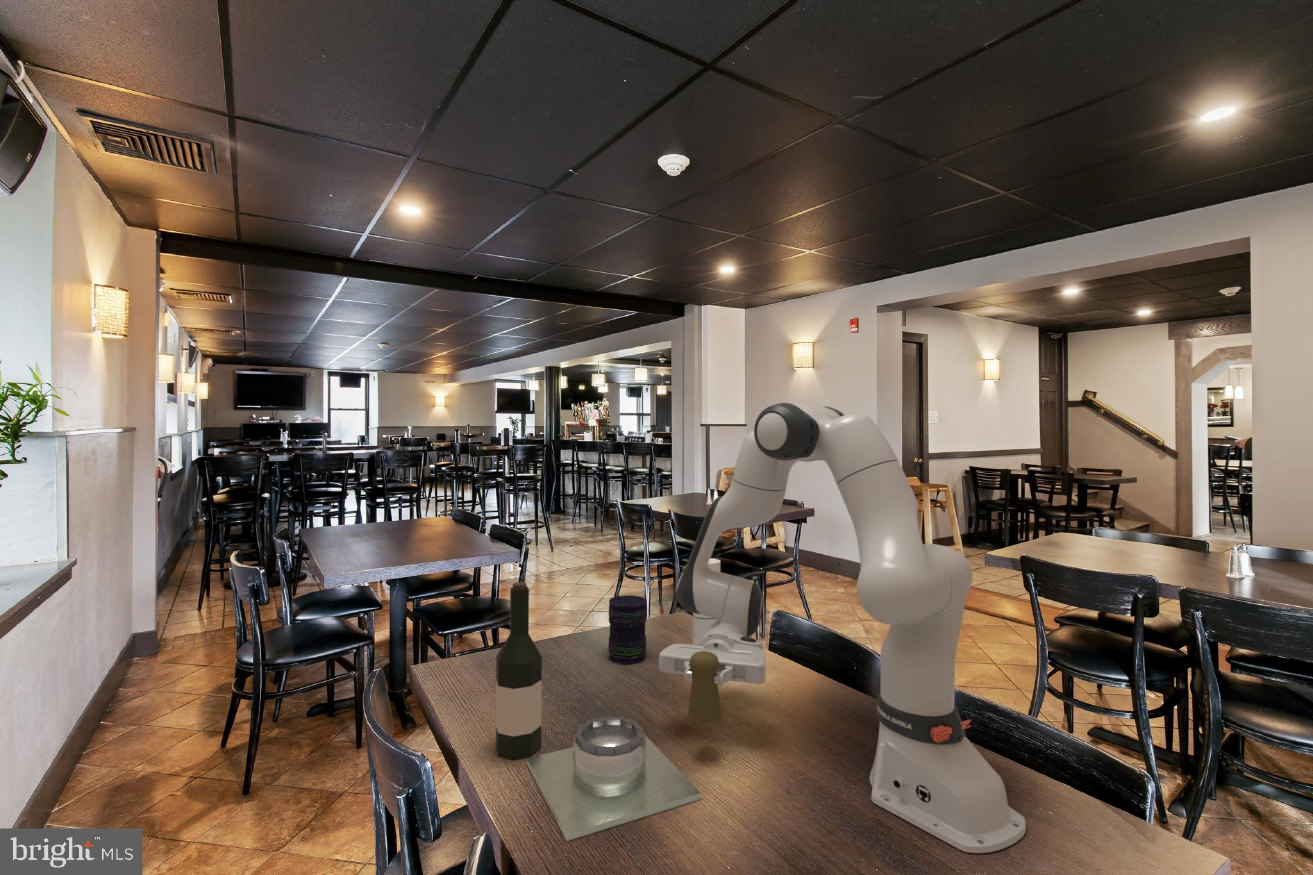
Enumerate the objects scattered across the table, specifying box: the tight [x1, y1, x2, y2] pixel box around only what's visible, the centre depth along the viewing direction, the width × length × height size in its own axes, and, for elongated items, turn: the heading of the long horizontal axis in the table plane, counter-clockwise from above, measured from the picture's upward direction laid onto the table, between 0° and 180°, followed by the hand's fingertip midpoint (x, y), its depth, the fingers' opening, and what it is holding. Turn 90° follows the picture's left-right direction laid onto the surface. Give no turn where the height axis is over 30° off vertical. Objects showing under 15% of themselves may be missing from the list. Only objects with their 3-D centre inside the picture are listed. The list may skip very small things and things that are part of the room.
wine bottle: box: [495, 581, 543, 761], centre depth 107 cm, size 8×8×30 cm
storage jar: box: [608, 594, 648, 666], centre depth 152 cm, size 10×10×15 cm
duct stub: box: [526, 716, 702, 842], centre depth 97 cm, size 22×22×8 cm
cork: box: [687, 651, 723, 724], centre depth 105 cm, size 6×6×11 cm
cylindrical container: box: [692, 557, 721, 645], centre depth 154 cm, size 7×7×25 cm
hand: (703, 678), depth 104 cm, fingers closed on cork, 4 cm apart
